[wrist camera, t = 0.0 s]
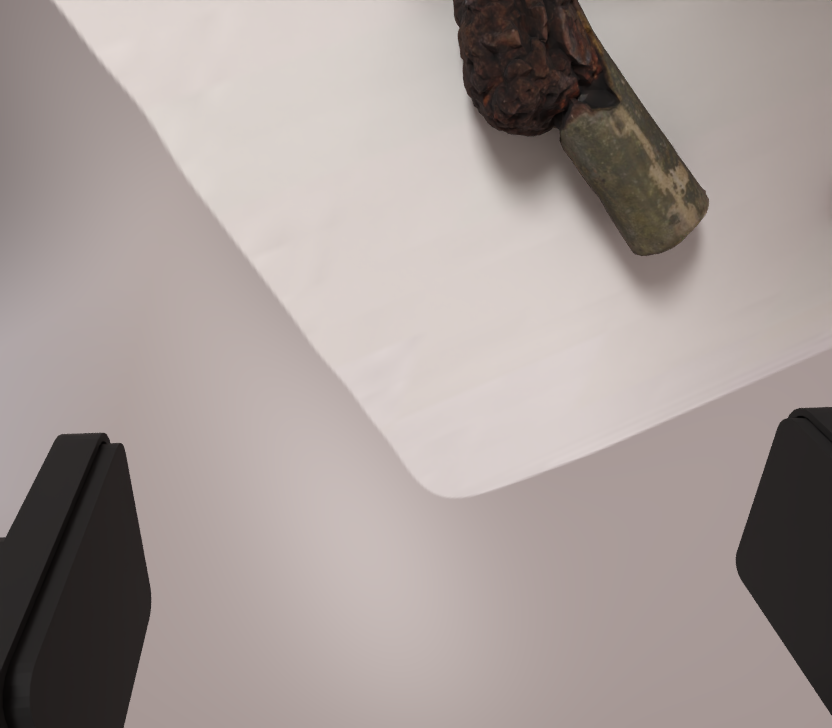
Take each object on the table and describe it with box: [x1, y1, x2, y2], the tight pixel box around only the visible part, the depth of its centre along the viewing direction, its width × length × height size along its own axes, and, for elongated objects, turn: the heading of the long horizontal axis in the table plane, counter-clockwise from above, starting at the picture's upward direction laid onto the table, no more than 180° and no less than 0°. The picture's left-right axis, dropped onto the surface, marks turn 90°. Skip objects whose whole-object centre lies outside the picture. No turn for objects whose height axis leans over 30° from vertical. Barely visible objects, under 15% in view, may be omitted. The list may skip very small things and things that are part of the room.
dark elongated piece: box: [453, 0, 709, 256], centre depth 37 cm, size 18×7×6 cm, turn 40°
